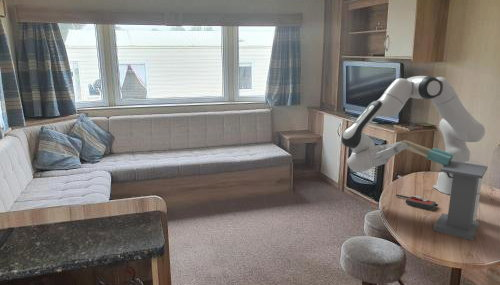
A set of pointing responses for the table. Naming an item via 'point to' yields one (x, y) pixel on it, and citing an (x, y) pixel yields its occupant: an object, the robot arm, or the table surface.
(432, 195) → the table surface
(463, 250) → the table surface
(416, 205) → the walkie-talkie
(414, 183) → the table surface
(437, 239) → the table surface
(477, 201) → the cylindrical container
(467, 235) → the stand
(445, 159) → the tan and teal block
